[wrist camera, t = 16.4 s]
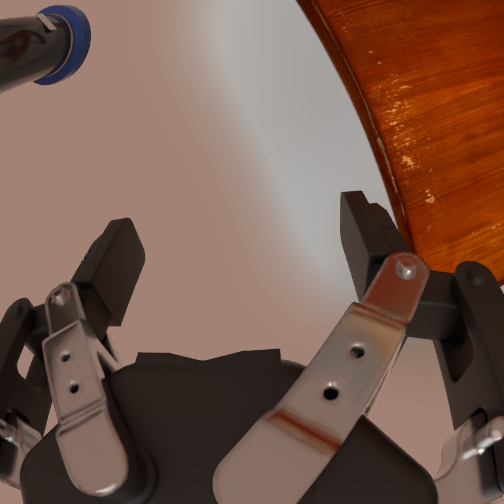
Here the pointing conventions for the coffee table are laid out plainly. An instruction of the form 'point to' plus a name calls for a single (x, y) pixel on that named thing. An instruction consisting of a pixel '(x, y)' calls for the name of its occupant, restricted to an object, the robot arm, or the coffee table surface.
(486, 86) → the coffee table surface
